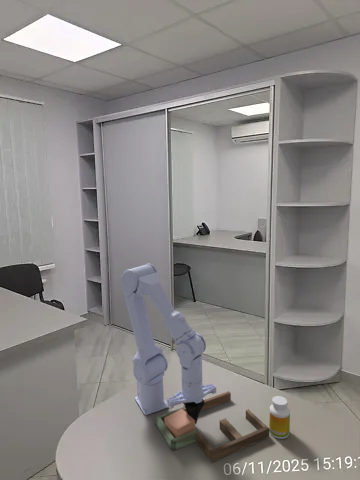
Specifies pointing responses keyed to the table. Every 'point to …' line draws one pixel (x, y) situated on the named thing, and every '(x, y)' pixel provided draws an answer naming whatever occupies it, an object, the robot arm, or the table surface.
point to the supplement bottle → (279, 418)
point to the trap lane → (231, 433)
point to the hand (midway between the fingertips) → (193, 422)
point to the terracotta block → (179, 423)
